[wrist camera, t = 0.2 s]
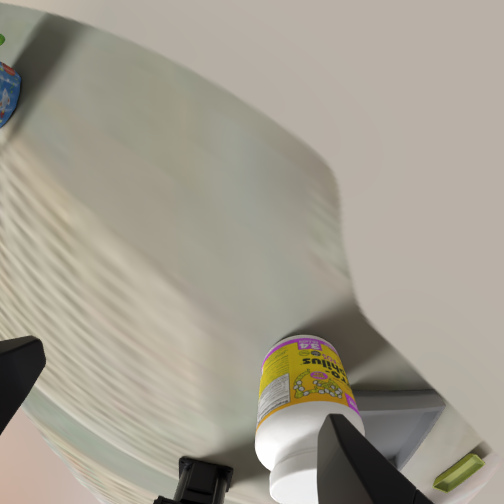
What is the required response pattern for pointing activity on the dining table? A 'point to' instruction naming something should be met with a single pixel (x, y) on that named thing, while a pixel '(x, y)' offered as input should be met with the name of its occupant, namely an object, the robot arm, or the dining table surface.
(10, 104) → the snack cup
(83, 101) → the dining table surface
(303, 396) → the supplement bottle
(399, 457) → the tray
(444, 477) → the green rectangular frame
